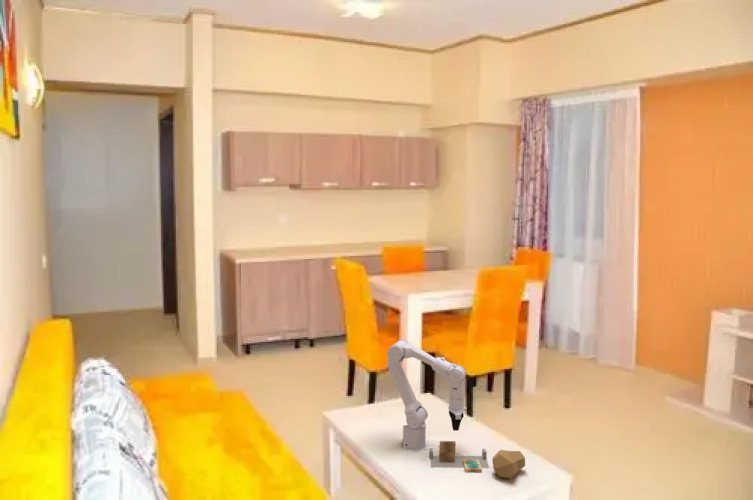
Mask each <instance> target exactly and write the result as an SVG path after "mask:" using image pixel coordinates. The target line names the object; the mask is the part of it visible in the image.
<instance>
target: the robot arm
mask: <svg viewBox="0 0 753 500" xmlns="http://www.w3.org/2000/svg"><path fill="white" fill-rule="evenodd" d="M386 354H387V362H386V363H387V365H386V366H387V369H388V371H389V374H390V376H391V377H392V380H393V383H394V384H395V387H396V388H397V389H396V390H397V391H398V393H399V396H400V397H401V400H402V402H403V406H404V415H405V417H406V420H405V421H406V424H405V425H403V426H402V439H401V440H402V441H401V443H402V448H403V450H405V451H427V450H428V447H427V442H426V437H427V436H426V433H427V432H426V430H427V427H426V426H427V423H426V420H427V418H428V416H429V415H428V411H427V409H426V407H424V406H423V405H422V402H420V401H419V400H417V397H416V395H415V392H414V391H413V388H412V386H411V384H410V381H409V380H408V377H407V374H406V373H405V371H404V368H403V367H402V364H403V362H404V360H405V359H410V358H414V359H416V360H419V361H421V362H423V363H425V364H427V365H429V366H431V368H432V371H435V372H436V373H438V374H440V375H442V376H444V377H445V378H448V381H449V394H448V395H449V399H448V407H447V408H448V409H447V410H448V414H449V417H450V420H451V425H452V426H451V428H452V430H453V431H456V432H457V431H459V430H460V425H461V423H462V420H463V419H464V411H467V407H466V406H464V405H465V404H464V402H465V400H464V399H465V378H466V375H467V371H466V369H465V367H463V366H462V365H460V364H457V365H456V363H452V362H449V361H448V360H446V358H445V357H443V356H442V357H441V356H438V357H434V356H432V355H431V354H430V353H427V352H426V351H424V350H422V349H421V348H419V347H418V346H417V345H415V344H413V343H412V342H411V341H408V340H406V339H399V340H398V341H397V342H395V343H394V344H392V345H391V346H390V347H389V348H388V351H386Z"/></svg>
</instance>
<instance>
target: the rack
mask: <svg viewBox="0 0 753 500" xmlns="http://www.w3.org/2000/svg"><path fill="white" fill-rule="evenodd" d="M481 450H482V452H481V455H455V462H439V455H434V448H433V447H432V448H429V449H428V451H429V455H428V456H429V462H430V467H431V468H452V469H453V468H460V469H461V468H464V465H463V459H471V460H479V462H480V465H481V468H482V469H490V465H489V463H488V460H487V449H486V448H482V449H481ZM464 469H465V468H464Z"/></svg>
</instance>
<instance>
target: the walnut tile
mask: <svg viewBox="0 0 753 500" xmlns="http://www.w3.org/2000/svg"><path fill="white" fill-rule="evenodd" d="M456 444H457V443H456V440H455V441H454V440H440V441H439V450H438V452H439V454H438V456H439V462H455V456H456V447H457V446H456Z"/></svg>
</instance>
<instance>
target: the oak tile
mask: <svg viewBox="0 0 753 500" xmlns="http://www.w3.org/2000/svg"><path fill="white" fill-rule="evenodd" d="M463 465H464V471H465V473H483V472H482V471H483V468H481V465H480V462H479V460H471V459H463Z"/></svg>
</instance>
